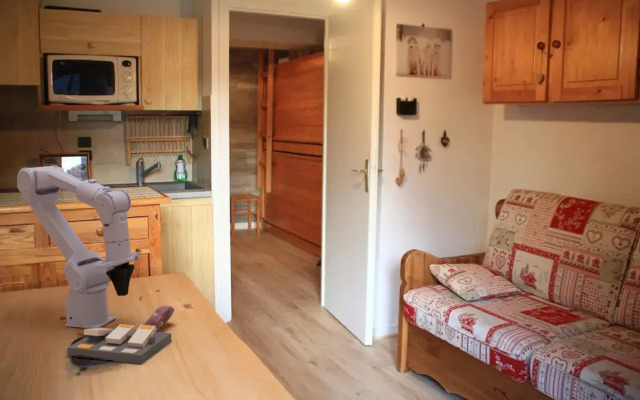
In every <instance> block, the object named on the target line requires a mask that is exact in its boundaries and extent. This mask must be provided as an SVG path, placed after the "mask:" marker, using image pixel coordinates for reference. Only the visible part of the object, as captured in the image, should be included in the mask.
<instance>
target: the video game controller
mask: <svg viewBox="0 0 640 400" xmlns="http://www.w3.org/2000/svg"><path fill="white" fill-rule="evenodd" d="M174 312H175V308H174V307H172V306H170V305H167V304H165V305H162V306H159V307H157V308H156V309H155V311H154V312H153V313H152V314H151V315H150V317H149V318H148V319H147V320H146V321H145V322H144V323H143V324H142V325H152V326H156V331H155V332H160V331H159V330H160V328H162V329H163V328H164V327H165V326H166V325H167V324H168V323H167V322H169V320H170V319H171V317H172V316H173V314H174Z"/></svg>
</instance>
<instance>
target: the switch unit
mask: <svg viewBox="0 0 640 400" xmlns="http://www.w3.org/2000/svg"><path fill="white" fill-rule="evenodd" d="M101 328H110V329H114V330H115V329H116V328H117V327H109V326H102V327H101ZM136 331H137V329H135V331H134V332H133V333H132V334H129V335H128V336H127V338H126V339H125V340H124V341H123V342H122V343H121V344H115V343H106V339H105V338H106V337H107V336H108V335H109V334H110V333H111V332H107V333H106V334H105V335H102V336H94V335H86V336H85V337H83V338H82V339H80V340H78V341H76V342H75V343H73V344H71V345H69V346H68V347H66V348H67V350H66V351H67V357H68V358H69V357H70V358H73V357H72V356H74V355H84V356H92V357H101V358H105V359H110V360H113V361H112V362H114V363H115V362H116V363H125V364H132V365H133V364H135V365H142V364H144V363H145V362H146V361H148V360H149V359H151V358H152V357H154V356H155V355H156V354H157V353H158V352H160V351H162V349H164V348H165V347H166V346H168V345H169V344H170V343H171V342H172V333H171V332H165V331H164V332H163V331H158V332H155V333H154V334H153V336H151V337H150V338H149V341H148V343H147V344H146V345H145V347H144V348H142V347H132V346H129V345H128V341H129V340H130V338H131V337H132V336H133V335H134V333H135V332H136Z"/></svg>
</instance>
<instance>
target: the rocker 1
mask: <svg viewBox="0 0 640 400" xmlns="http://www.w3.org/2000/svg"><path fill="white" fill-rule="evenodd" d="M110 328H111V327H110ZM110 328H102V327H100V328H83V329H84V331H83V335H86V336H87V335H94V336H102V335H105V334H106V333H107V332H112V331H113V330H114V329H110Z"/></svg>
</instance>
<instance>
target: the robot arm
mask: <svg viewBox="0 0 640 400" xmlns="http://www.w3.org/2000/svg"><path fill="white" fill-rule="evenodd" d="M16 177H17V179H16V188H17V189H18V191H19V192H20V193H21V195H22V197H23V198H24V199H25V202H27V204H28V205H29V207H30V209H31V211H32V213H33V214H34V216H35V217H36V219H37V220H38V221H39V223H40V224H41V226H42V227H43V228H44V230H45V231H46V233H47V234H48V236H49V238H51V240H52V241H53V243H54V245H55V246H56V247H57V248H58V250H59V251H60V253H61V254H62V256H63V257H64V259H65V260H66V263H65V265H64V267H63V270H62V272H63V274H64V276H65V278H66V281H67V283H68V286H69V287H70V290H69V291H68V292H67V294H66V297H65V311H66V312H65V313H66V323H65V324H64V326H65V327H73V328H83V329H92V328H102V327H105V325H107V324H108V323H111V322H112V321H114V320H115V319H116V316H111V315H109V311H108V310H109V308H108V307H109V306H108V305H109V304H108V291H107V287H109V282H111V283H112V285H113V288H114V290H115V292H116V295H117V296H118V297H124V296H125V297H126V296H127V295H128V294H129V289H130V288H129V287H130V283H131V277H132V275H133V272H134V270H135V268H136V267H135V264H134V263H133V264H132V262H135V261H139V260H141V256H140V254H141V253H140V252H139V251H133V252H131V245H130V244H131V242H130V235H129V226H128V225H129V224H128V223H129V222H128V214H127V213H128V212H129V211H130V209H131V207H132V200H131V198H130V195H129V193H127V191H125V190H124V189H122V188H121V189H117V190H112V189H111V187H110V186H104V185H102V184H100V183H98V182H97V181H98V180H97V179H94V178H91V179H85V180H81V179H78V178H77V177H75V176H73V175H72V174H70V173H67V171H65V169H64V168H63V167H60V166H58V165H53V164H52V165H49V166H47V165H46V166H37V167H22V168H21V169H20V170H19V171H18V174H17V176H16ZM62 190H65V191H67V192H70V193H73V194H75V197H76V199H77V200H78V201H79V202H81V203H84V204H85V205H87V206H90V207H91V208H93V209H95V211H96V213H97V214H98V216H99V222H100V223H101V224H102V231H103V232H102V233H103V240H104V250H105V259H104V258H103V257H102V256H101V255H100V253H98V252H95V251H91V250H89V249H87V247H86V246H85V244H84V243H83V242H82V240H81V238H80V237H79V236H78V234H77V233H76V232H75V230H74V228H73V227H72V226H71V224H70V223H69V222H68V220H67V219H66V218H65V216H64V215H63V213H62V212H61V210H60V209H59V208H58V206H57V205H56V202H57V201H59V199H60V195H61V193H62V192H61V191H62Z"/></svg>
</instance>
